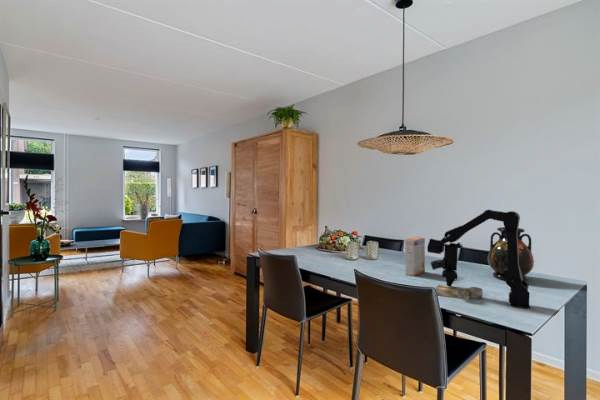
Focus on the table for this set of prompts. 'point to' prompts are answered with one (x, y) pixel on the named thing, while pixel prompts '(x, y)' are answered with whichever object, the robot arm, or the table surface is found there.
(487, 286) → the table surface
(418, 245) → the cracker box
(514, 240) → the robot arm
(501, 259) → the amphora vase
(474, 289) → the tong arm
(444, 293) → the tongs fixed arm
